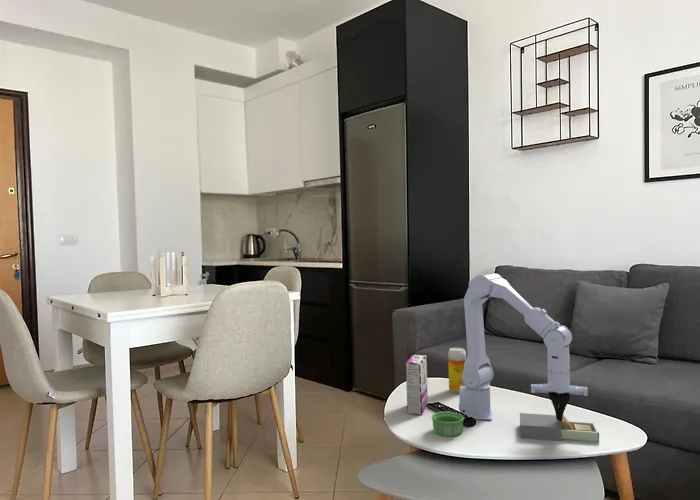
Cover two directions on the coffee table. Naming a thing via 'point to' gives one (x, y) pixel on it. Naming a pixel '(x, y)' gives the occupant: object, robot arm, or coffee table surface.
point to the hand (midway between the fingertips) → (559, 419)
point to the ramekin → (447, 423)
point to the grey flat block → (540, 426)
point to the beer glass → (456, 368)
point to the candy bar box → (416, 384)
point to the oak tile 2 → (582, 427)
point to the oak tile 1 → (565, 424)
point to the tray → (581, 433)
